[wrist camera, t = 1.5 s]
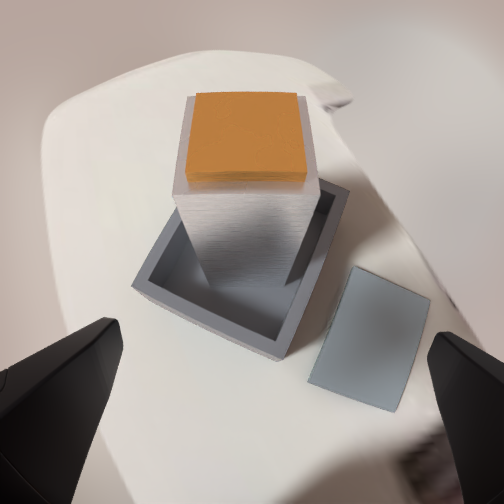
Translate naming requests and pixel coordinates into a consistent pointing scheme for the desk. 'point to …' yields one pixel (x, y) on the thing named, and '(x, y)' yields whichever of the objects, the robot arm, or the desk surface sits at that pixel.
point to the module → (246, 184)
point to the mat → (371, 341)
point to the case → (241, 298)
